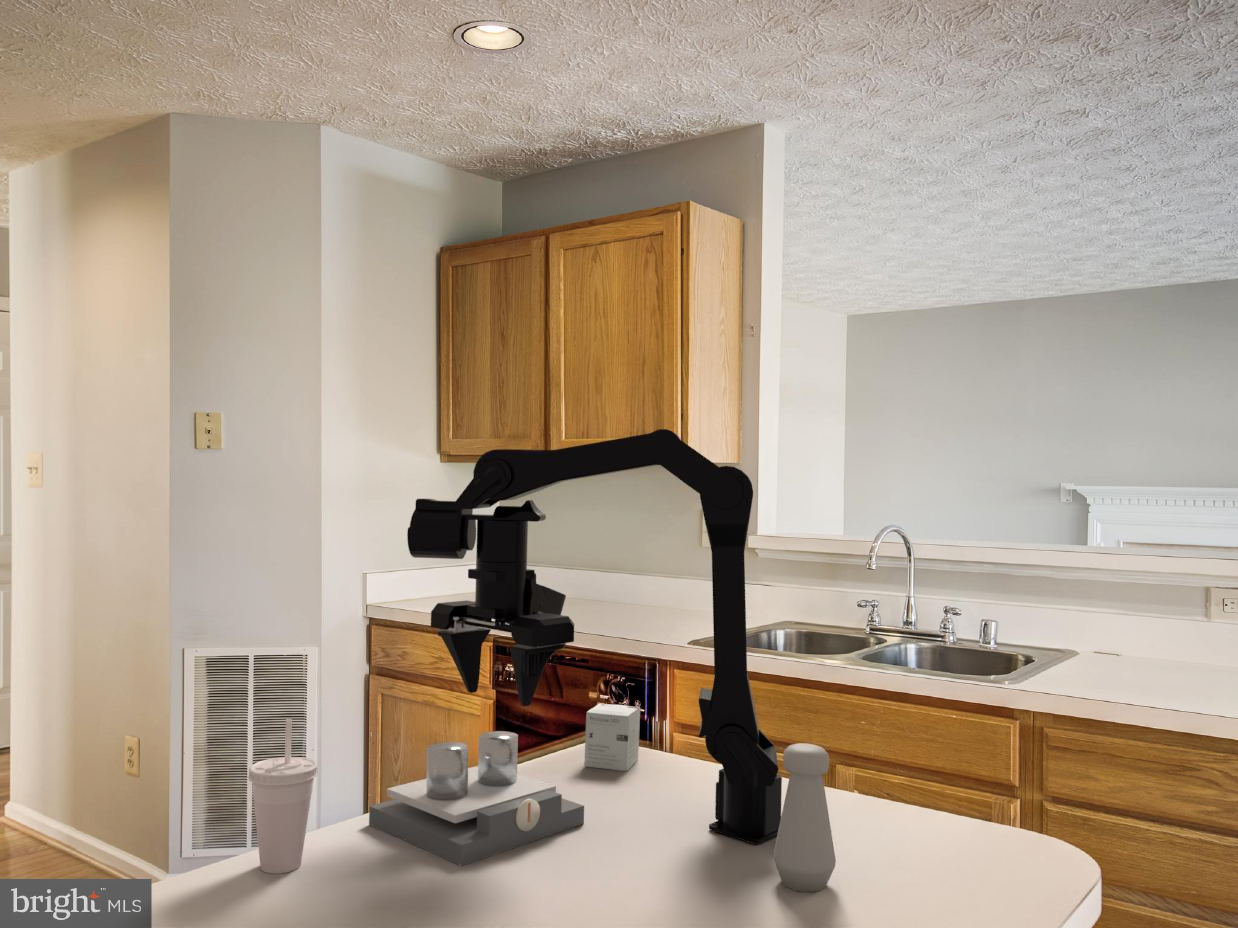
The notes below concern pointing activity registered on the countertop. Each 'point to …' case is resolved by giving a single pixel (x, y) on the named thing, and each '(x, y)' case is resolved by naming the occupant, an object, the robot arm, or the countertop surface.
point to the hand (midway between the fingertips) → (498, 698)
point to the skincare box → (612, 736)
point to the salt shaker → (805, 822)
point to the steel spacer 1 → (447, 770)
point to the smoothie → (282, 807)
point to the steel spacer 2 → (497, 758)
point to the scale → (476, 817)
